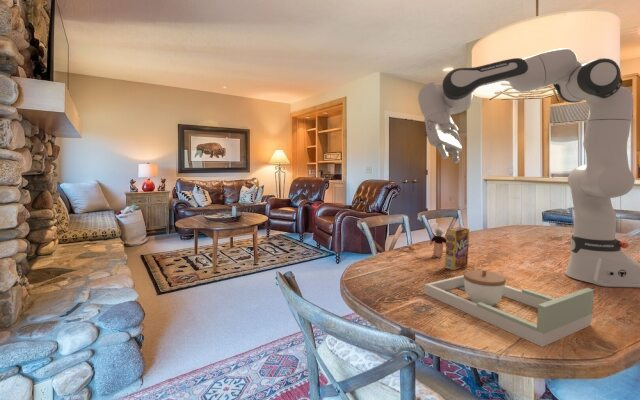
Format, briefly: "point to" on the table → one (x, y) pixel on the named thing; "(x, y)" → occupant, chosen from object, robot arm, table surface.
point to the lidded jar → (484, 286)
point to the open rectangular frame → (553, 310)
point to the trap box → (441, 293)
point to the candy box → (457, 248)
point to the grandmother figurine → (438, 243)
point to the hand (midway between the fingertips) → (451, 160)
